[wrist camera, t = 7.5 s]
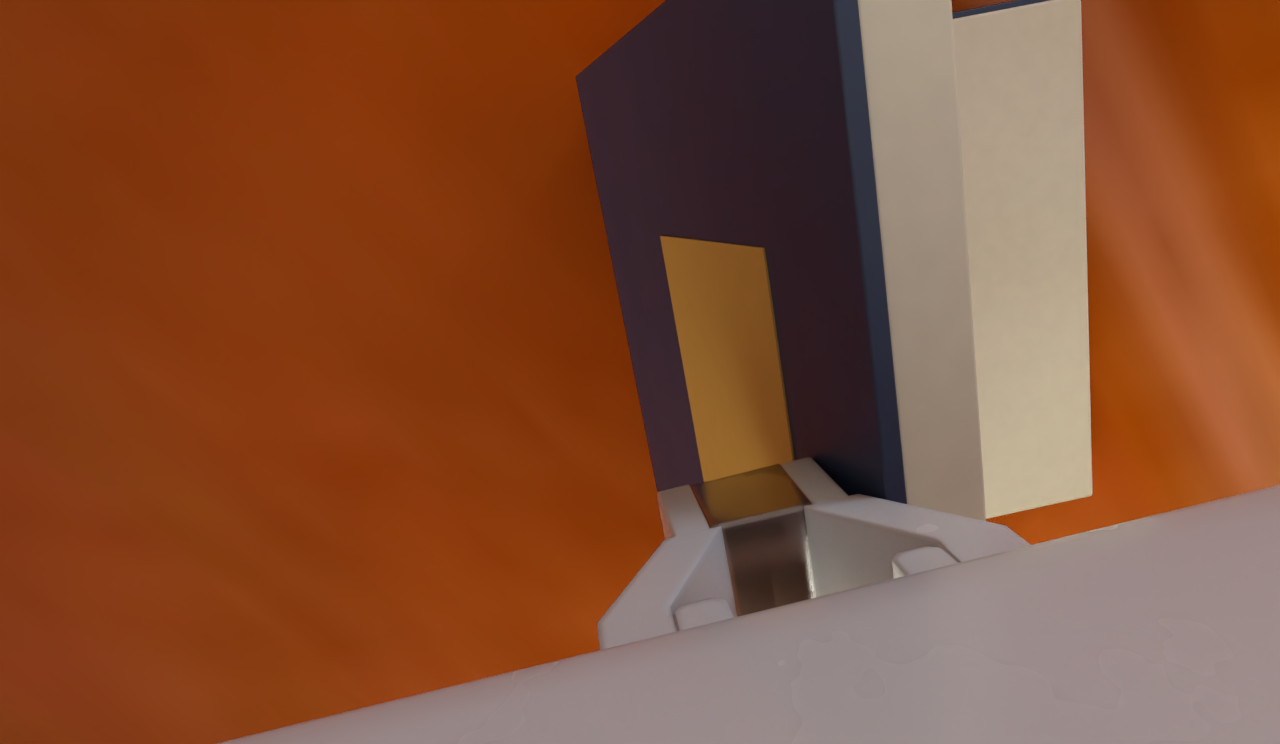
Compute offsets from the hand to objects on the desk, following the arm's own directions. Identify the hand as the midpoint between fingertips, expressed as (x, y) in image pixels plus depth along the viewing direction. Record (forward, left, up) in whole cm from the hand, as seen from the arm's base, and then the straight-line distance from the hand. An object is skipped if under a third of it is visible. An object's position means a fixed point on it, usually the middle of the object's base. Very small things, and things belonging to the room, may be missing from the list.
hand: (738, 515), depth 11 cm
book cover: (-2, 0, -4) cm, 5 cm away
